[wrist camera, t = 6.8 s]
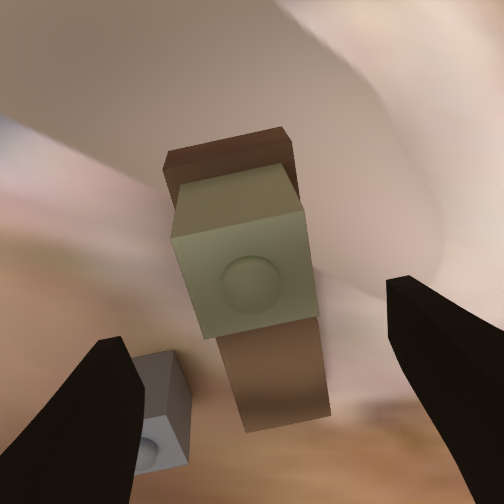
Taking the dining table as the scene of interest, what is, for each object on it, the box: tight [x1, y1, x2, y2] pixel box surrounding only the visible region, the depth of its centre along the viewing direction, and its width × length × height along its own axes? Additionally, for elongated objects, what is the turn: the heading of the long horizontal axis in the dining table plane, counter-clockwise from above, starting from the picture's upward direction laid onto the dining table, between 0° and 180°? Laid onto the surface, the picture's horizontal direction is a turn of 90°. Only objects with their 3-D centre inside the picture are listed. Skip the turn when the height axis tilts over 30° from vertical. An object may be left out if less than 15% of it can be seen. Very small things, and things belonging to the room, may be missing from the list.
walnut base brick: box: [163, 127, 331, 433], centre depth 21 cm, size 16×5×2 cm, turn 11°
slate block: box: [131, 349, 192, 475], centre depth 22 cm, size 4×4×5 cm
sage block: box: [170, 163, 319, 340], centre depth 15 cm, size 4×4×5 cm
